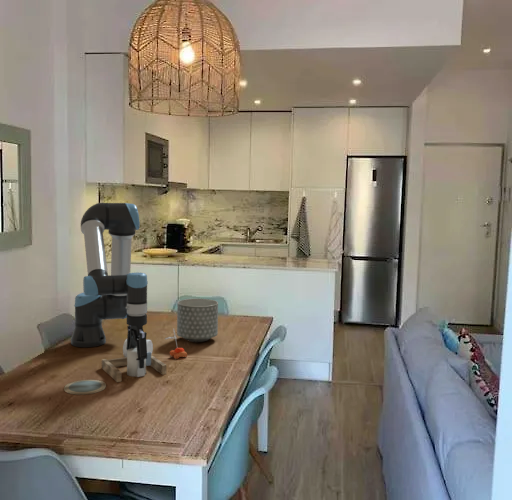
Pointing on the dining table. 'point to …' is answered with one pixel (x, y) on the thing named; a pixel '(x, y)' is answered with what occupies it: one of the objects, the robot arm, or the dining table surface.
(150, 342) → the mug
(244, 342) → the dining table surface
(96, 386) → the coaster
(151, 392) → the dining table surface
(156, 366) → the wooden u-shaped frame
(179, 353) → the orange lump with branch
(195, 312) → the planter
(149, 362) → the blue handled white cup
